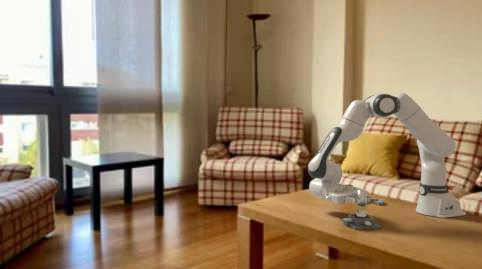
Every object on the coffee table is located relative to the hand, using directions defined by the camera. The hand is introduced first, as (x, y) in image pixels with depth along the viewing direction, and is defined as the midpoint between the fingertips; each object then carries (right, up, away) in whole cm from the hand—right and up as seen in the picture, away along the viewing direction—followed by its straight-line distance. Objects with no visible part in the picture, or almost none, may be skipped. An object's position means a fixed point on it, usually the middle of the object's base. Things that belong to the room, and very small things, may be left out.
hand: (362, 199), depth 180 cm
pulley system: (+11, -8, +45) cm, 47 cm away
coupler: (0, -10, +1) cm, 10 cm away
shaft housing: (0, -11, +1) cm, 11 cm away
